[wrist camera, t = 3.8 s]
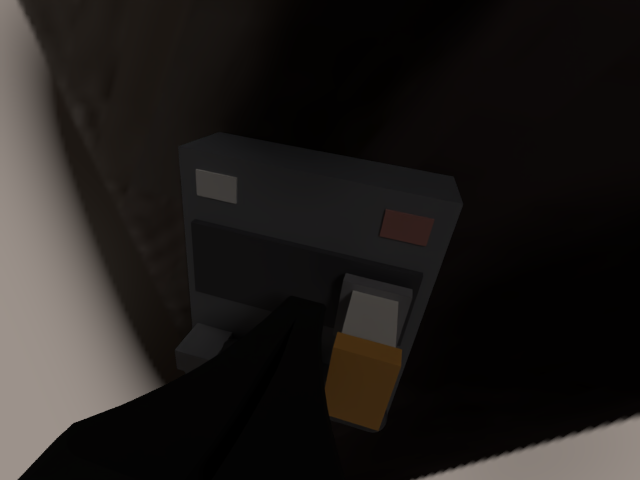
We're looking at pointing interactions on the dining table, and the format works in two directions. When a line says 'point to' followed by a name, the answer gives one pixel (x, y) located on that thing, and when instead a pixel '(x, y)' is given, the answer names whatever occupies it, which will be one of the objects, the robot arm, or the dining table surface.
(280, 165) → the breaker box
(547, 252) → the dining table surface
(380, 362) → the breaker toggle
